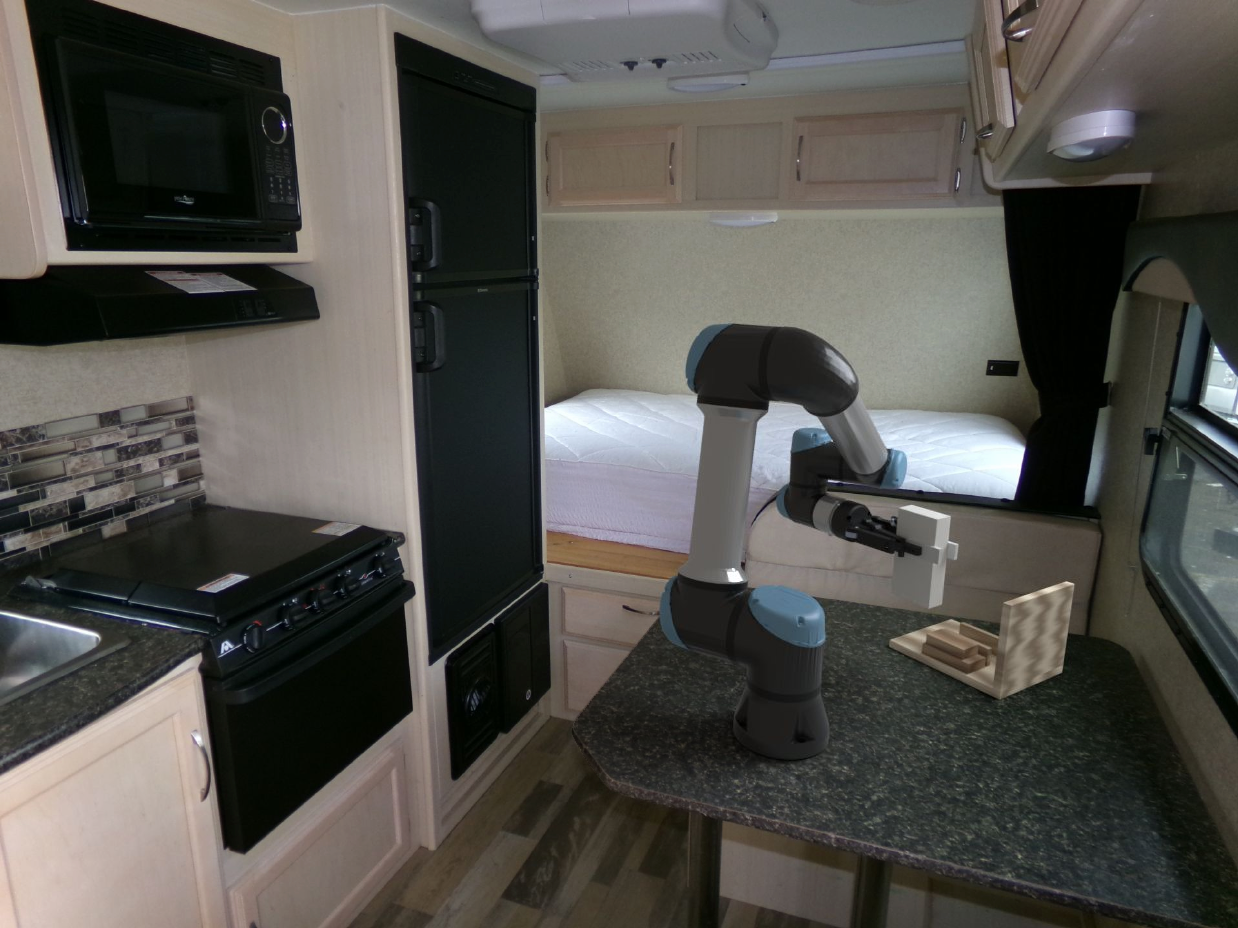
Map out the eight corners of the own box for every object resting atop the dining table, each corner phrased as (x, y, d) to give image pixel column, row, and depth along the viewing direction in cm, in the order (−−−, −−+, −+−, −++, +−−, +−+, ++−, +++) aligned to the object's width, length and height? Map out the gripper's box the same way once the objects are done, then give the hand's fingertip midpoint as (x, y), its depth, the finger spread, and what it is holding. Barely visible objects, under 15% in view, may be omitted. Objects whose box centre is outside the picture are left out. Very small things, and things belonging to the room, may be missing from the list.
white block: (928, 608, 141) (937, 519, 137) (891, 593, 148) (898, 507, 144) (941, 604, 143) (950, 516, 139) (904, 589, 149) (911, 504, 146)
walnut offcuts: (967, 674, 149) (969, 653, 148) (921, 652, 157) (923, 633, 156) (984, 667, 151) (987, 647, 151) (938, 646, 160) (940, 627, 159)
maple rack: (999, 699, 143) (1011, 605, 139) (889, 646, 163) (896, 563, 159) (1061, 672, 153) (1074, 583, 149) (950, 625, 173) (959, 546, 169)
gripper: (871, 530, 163) (976, 566, 143) (810, 544, 154) (913, 585, 135) (874, 493, 161) (981, 525, 142) (812, 506, 152) (917, 541, 133)
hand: (948, 554), depth 138 cm, fingers closed on white block, 3 cm apart
